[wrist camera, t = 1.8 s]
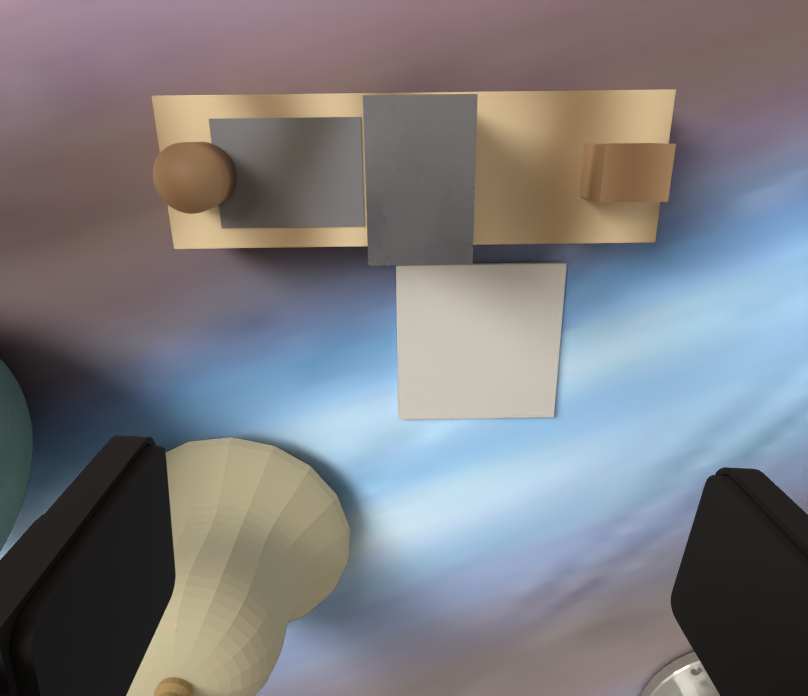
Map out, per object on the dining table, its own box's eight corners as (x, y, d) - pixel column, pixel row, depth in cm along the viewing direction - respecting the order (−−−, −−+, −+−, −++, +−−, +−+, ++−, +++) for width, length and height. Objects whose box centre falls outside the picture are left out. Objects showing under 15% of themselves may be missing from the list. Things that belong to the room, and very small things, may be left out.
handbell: (91, 456, 39) (-380, 954, 15) (308, 397, 37) (158, 841, 14) (185, 628, 44) (-59, 1199, 20) (379, 582, 42) (356, 1134, 19)
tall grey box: (458, 103, 27) (477, 93, 20) (455, 234, 29) (472, 264, 22) (370, 104, 27) (362, 95, 20) (374, 236, 29) (368, 265, 22)
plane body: (634, 96, 31) (708, 84, 24) (619, 227, 34) (682, 253, 26) (188, 101, 31) (122, 91, 24) (205, 233, 34) (150, 261, 26)
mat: (564, 262, 35) (566, 263, 34) (552, 414, 38) (553, 417, 38) (396, 264, 34) (395, 266, 34) (398, 416, 38) (398, 419, 38)
